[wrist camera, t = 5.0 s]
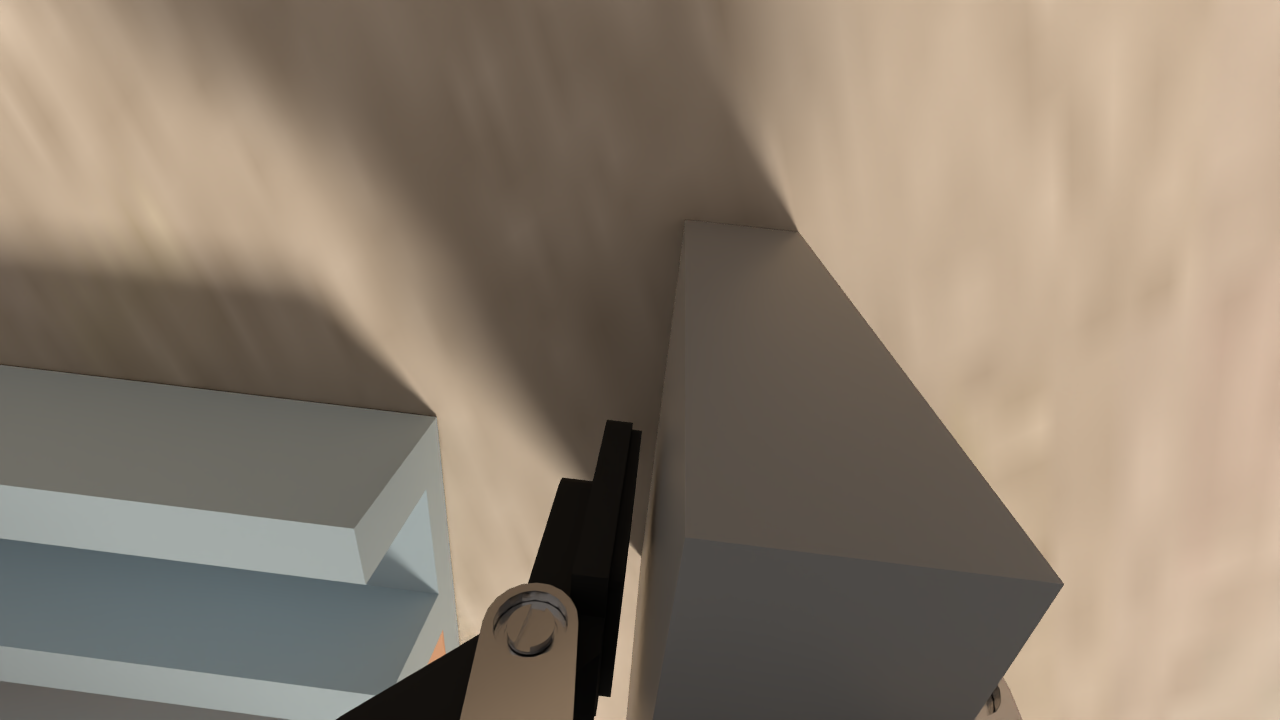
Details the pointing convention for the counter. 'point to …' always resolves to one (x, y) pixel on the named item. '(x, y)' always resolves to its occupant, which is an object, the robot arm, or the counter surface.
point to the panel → (813, 514)
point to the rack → (212, 552)
